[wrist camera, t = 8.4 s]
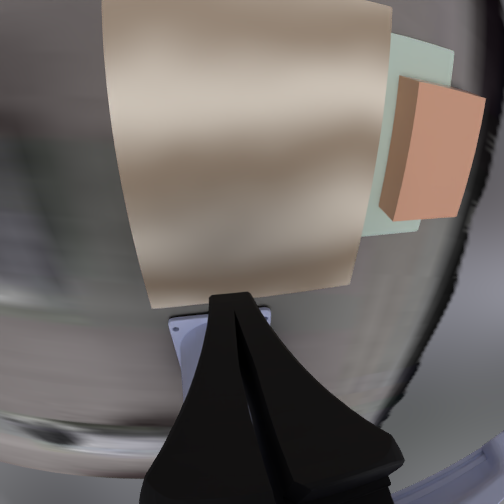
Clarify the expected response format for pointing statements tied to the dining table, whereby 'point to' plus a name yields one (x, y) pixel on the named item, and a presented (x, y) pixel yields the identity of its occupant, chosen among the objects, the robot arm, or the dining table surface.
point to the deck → (245, 139)
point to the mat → (404, 64)
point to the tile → (430, 150)
